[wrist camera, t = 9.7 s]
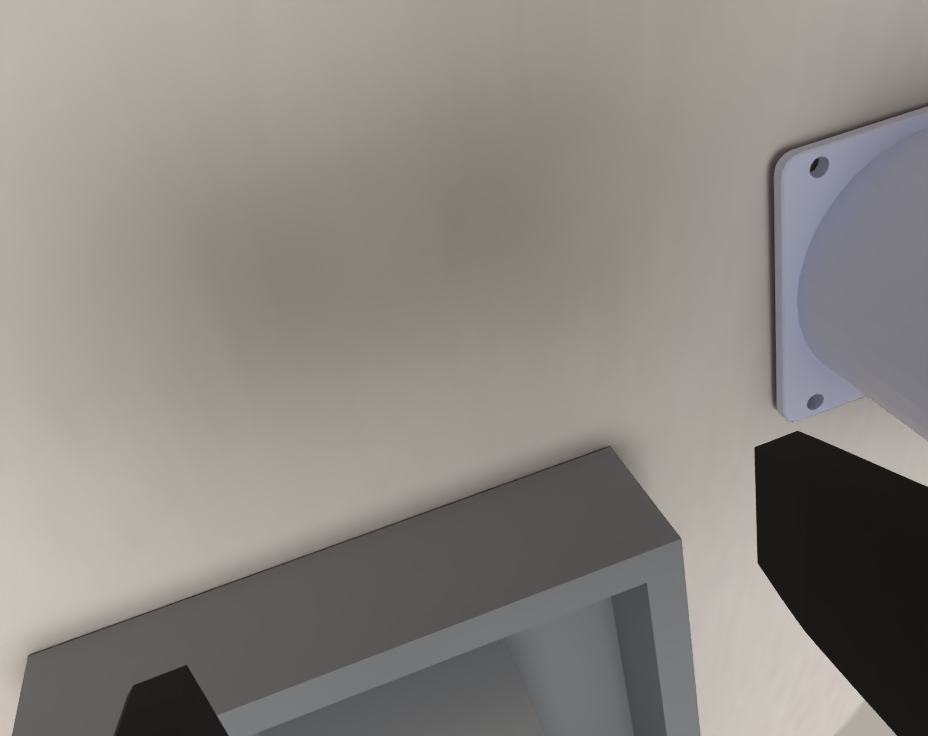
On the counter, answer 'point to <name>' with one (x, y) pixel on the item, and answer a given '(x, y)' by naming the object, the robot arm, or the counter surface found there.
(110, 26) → the counter surface
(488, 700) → the socket box
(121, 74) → the counter surface
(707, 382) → the counter surface
